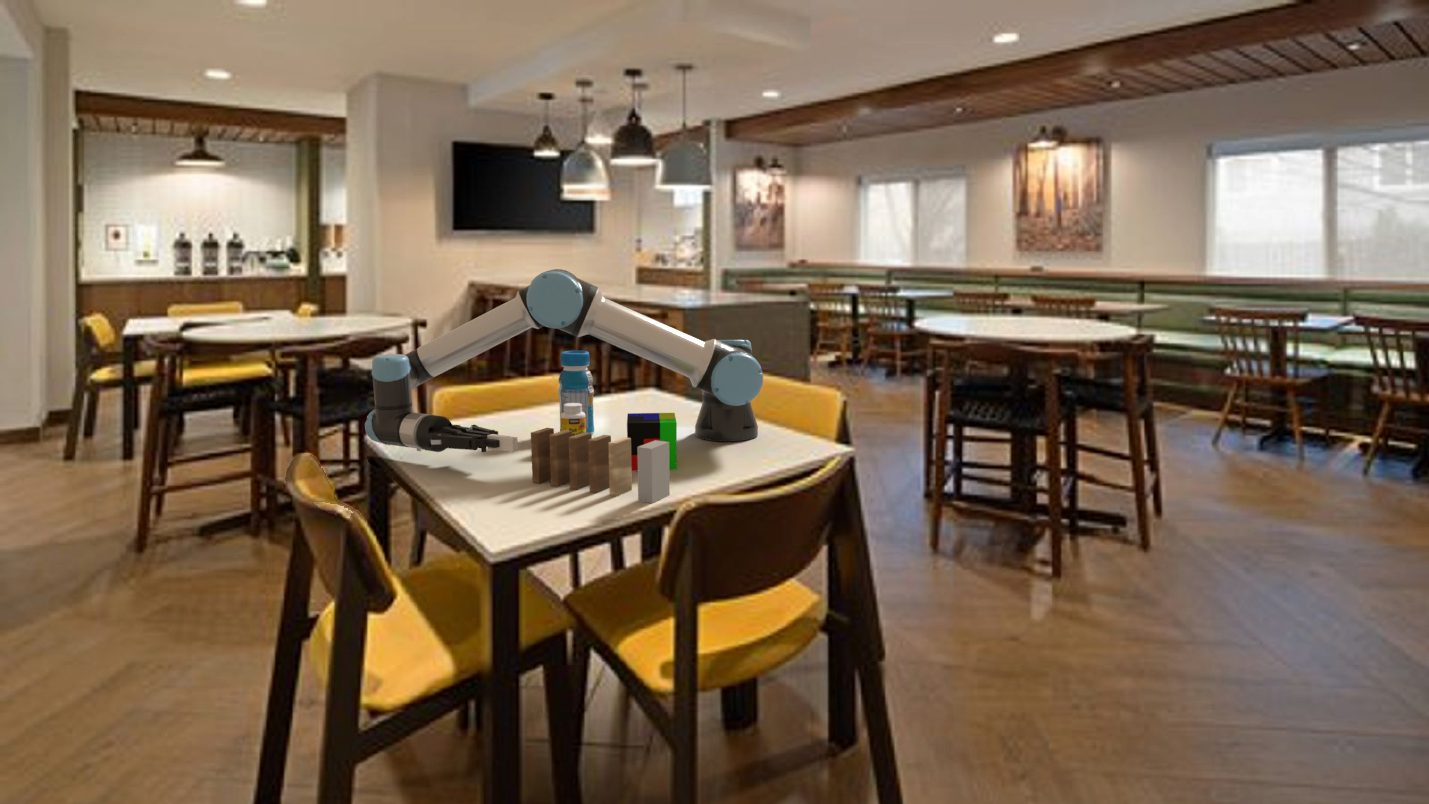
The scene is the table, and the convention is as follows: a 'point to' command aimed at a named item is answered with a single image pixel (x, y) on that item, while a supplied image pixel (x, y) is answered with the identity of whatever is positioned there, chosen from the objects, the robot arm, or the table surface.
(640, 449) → the rectangular block
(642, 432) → the puzzle toy
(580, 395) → the beverage bottle
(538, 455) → the domino
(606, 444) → the domino
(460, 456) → the table surface
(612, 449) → the domino
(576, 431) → the supplement bottle
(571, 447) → the domino
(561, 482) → the domino
